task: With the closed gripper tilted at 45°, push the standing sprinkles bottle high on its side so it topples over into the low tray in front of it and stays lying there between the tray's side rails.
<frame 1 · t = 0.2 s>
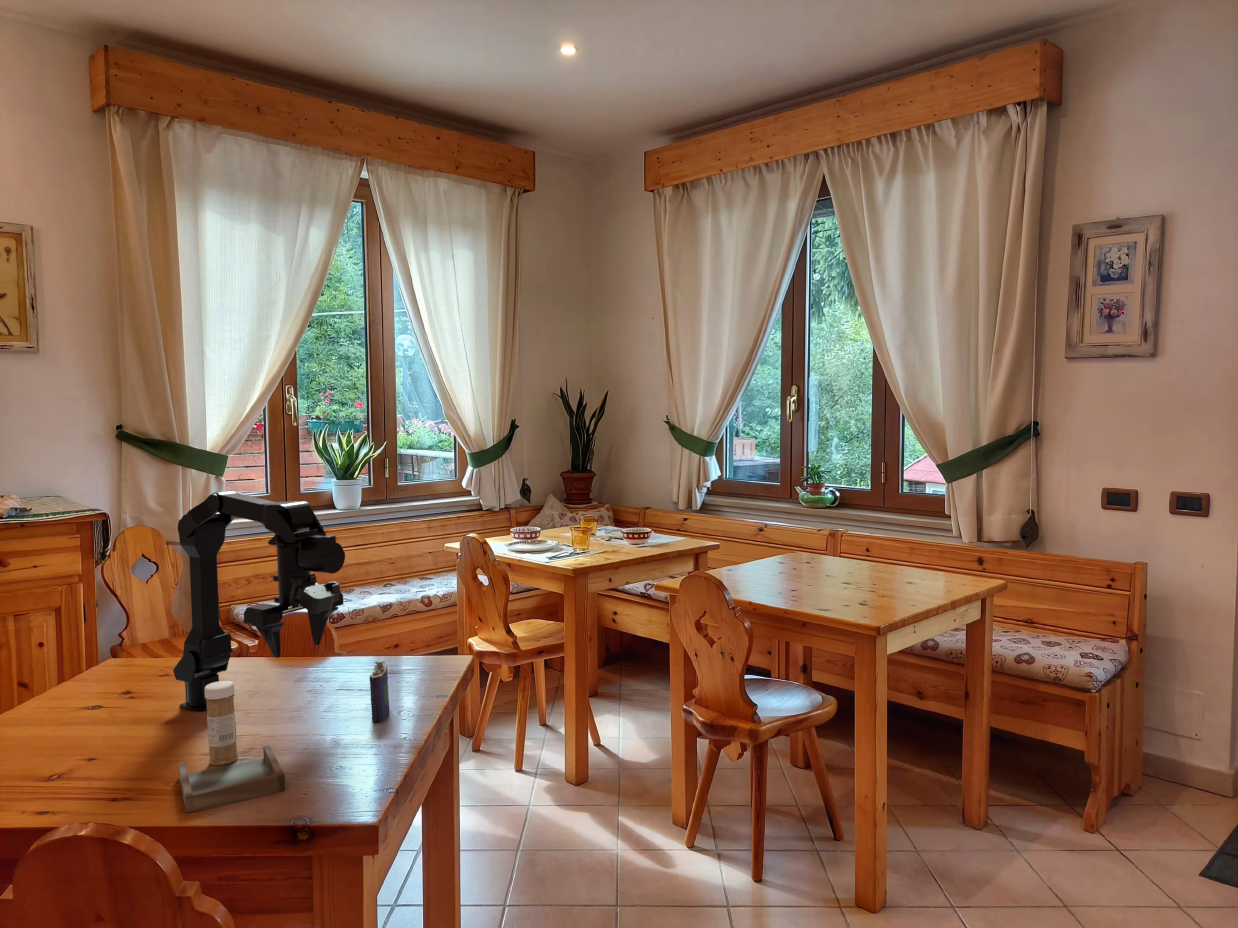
hand: (297, 650, 163), 14 cm above the table, tool pointing down, fingers open, 9 cm apart
flask: (381, 715, 168), on the table
tray: (231, 783, 138), on the table
sprinkles bottle: (223, 762, 148), on the table
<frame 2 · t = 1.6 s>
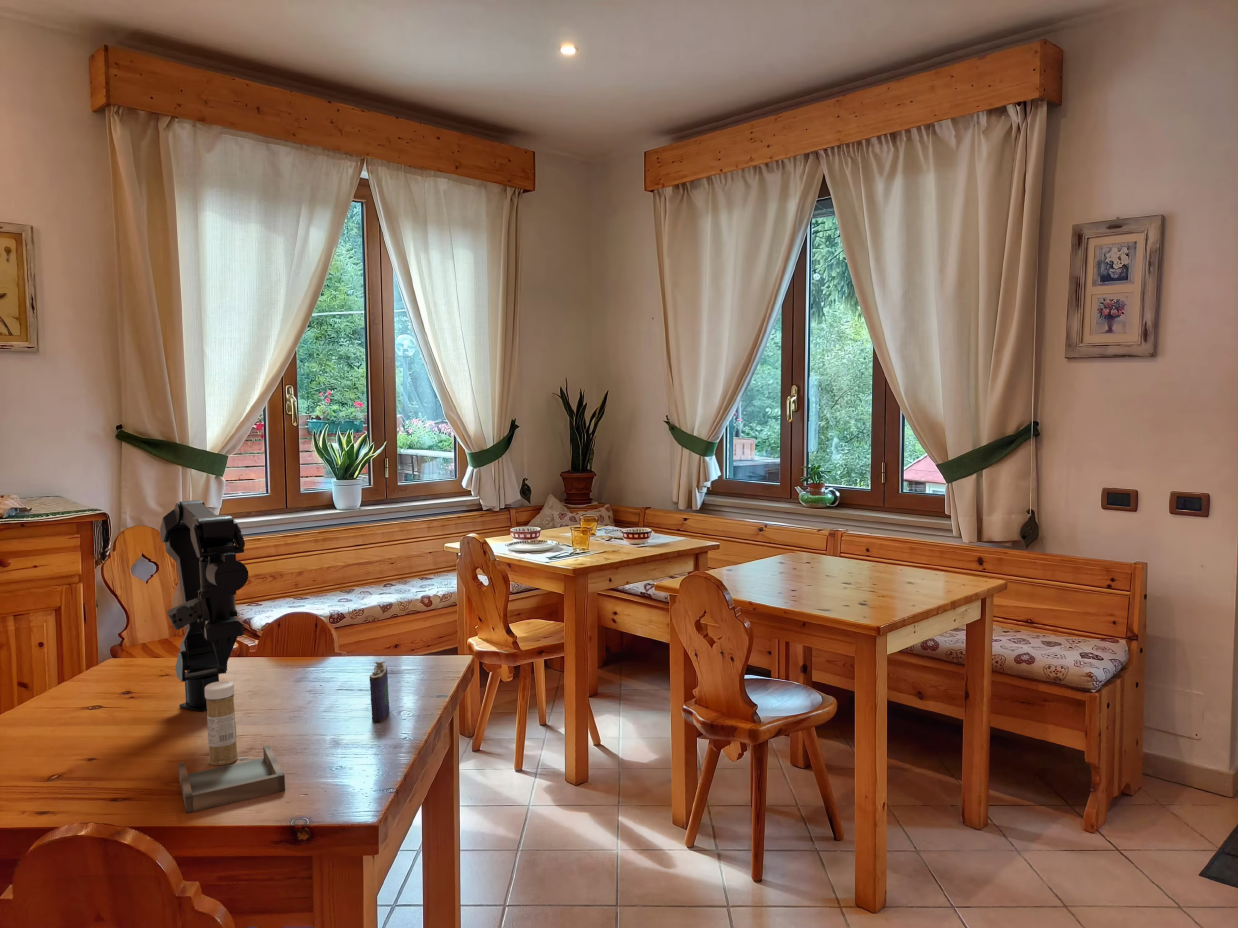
hand: (221, 665, 162), 12 cm above the table, tool pointing down, fingers closed
nothing on the table moved.
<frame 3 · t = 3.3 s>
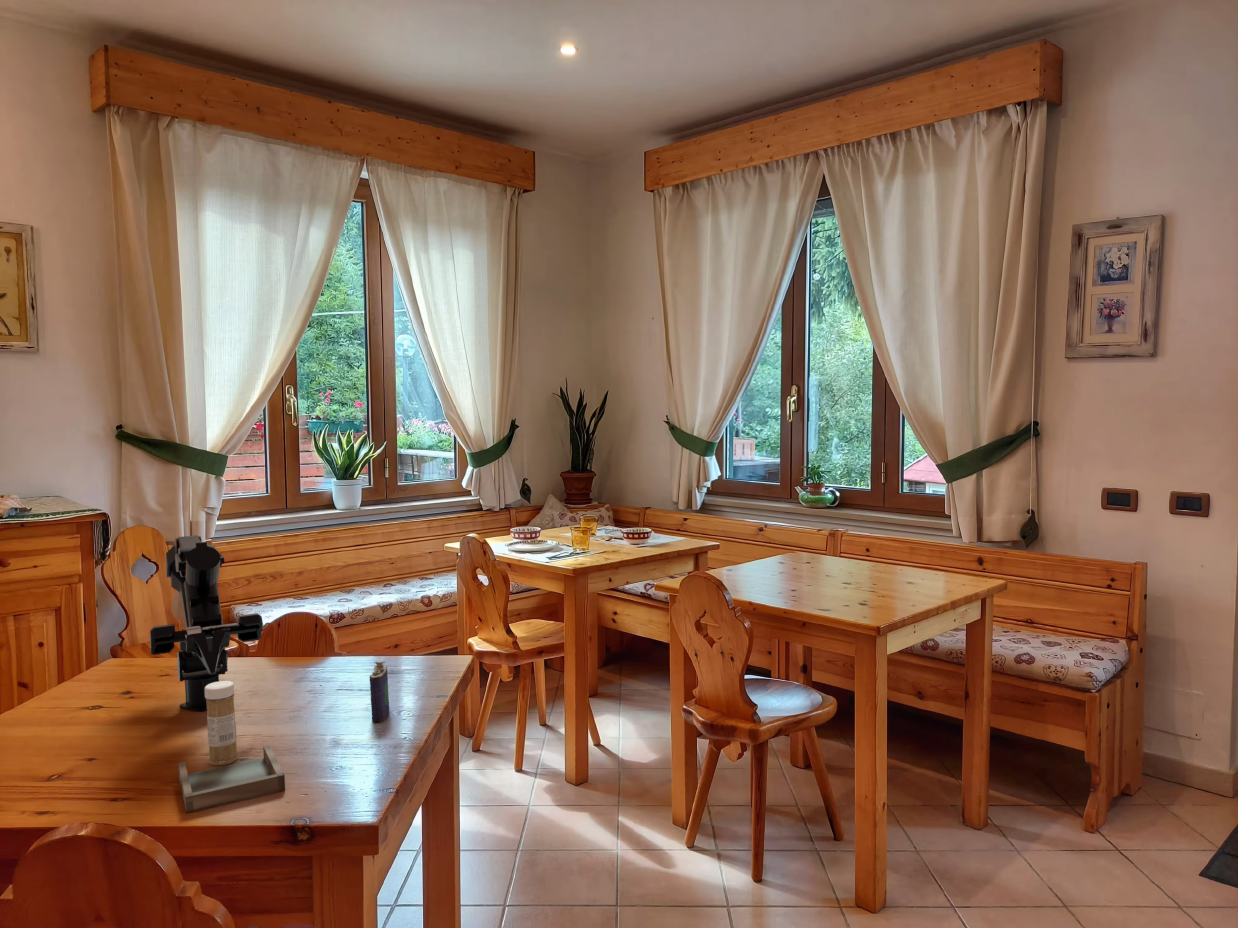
hand: (212, 673, 156), 13 cm above the table, tool tilted 45°, fingers closed
nothing on the table moved.
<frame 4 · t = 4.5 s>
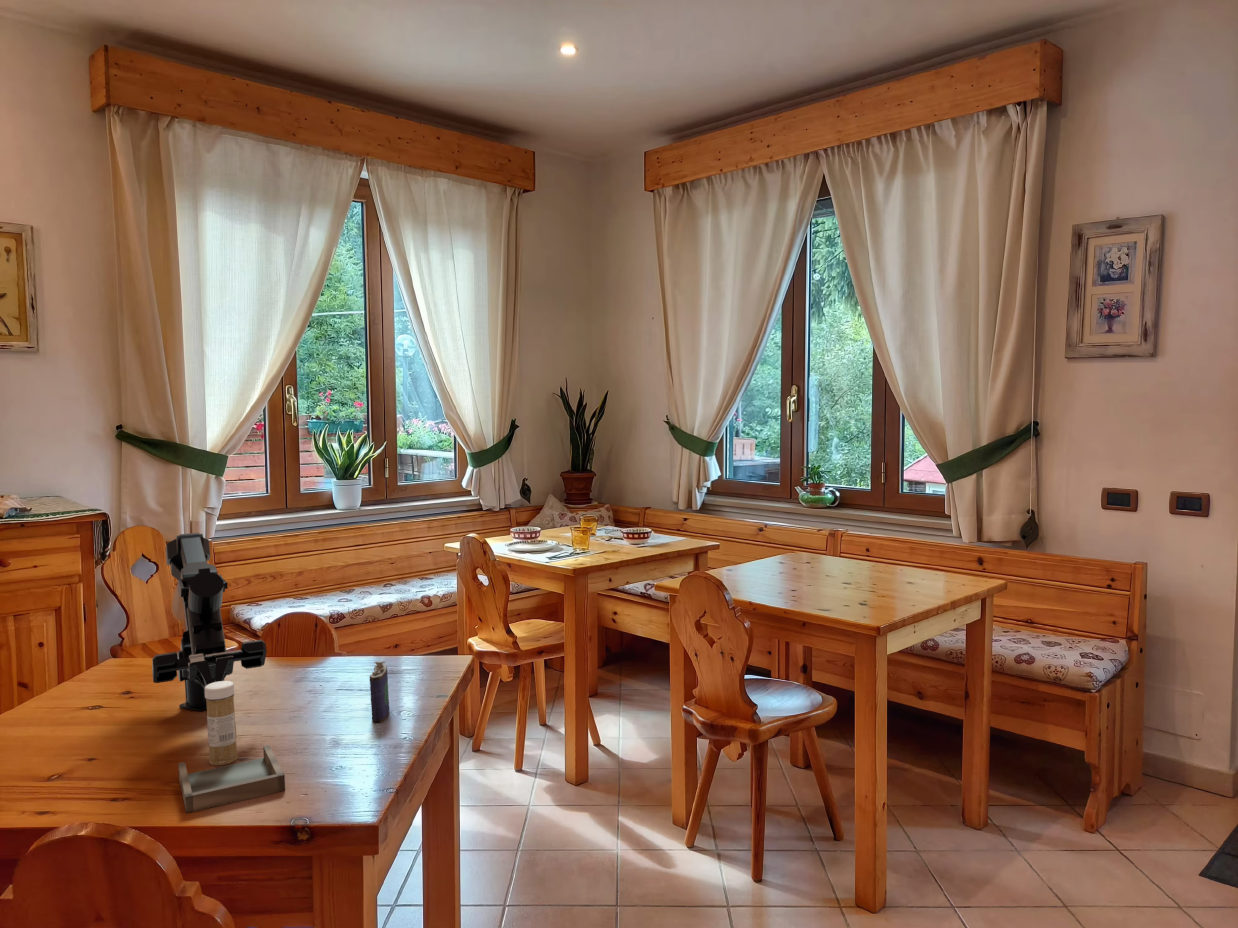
hand: (215, 701, 154), 8 cm above the table, tool tilted 45°, fingers closed
nothing on the table moved.
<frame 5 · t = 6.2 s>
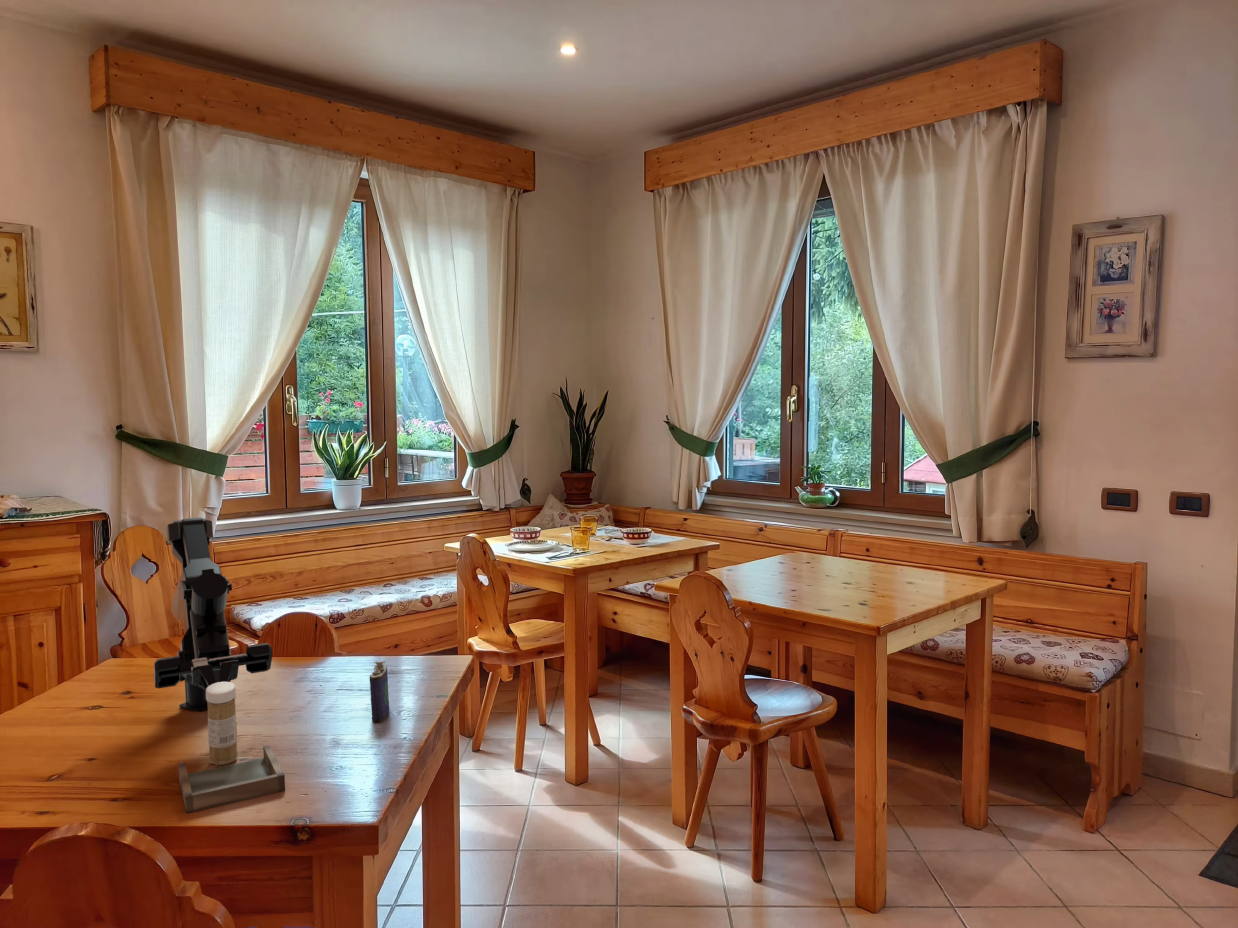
hand: (220, 707, 148), 9 cm above the table, tool tilted 45°, fingers closed
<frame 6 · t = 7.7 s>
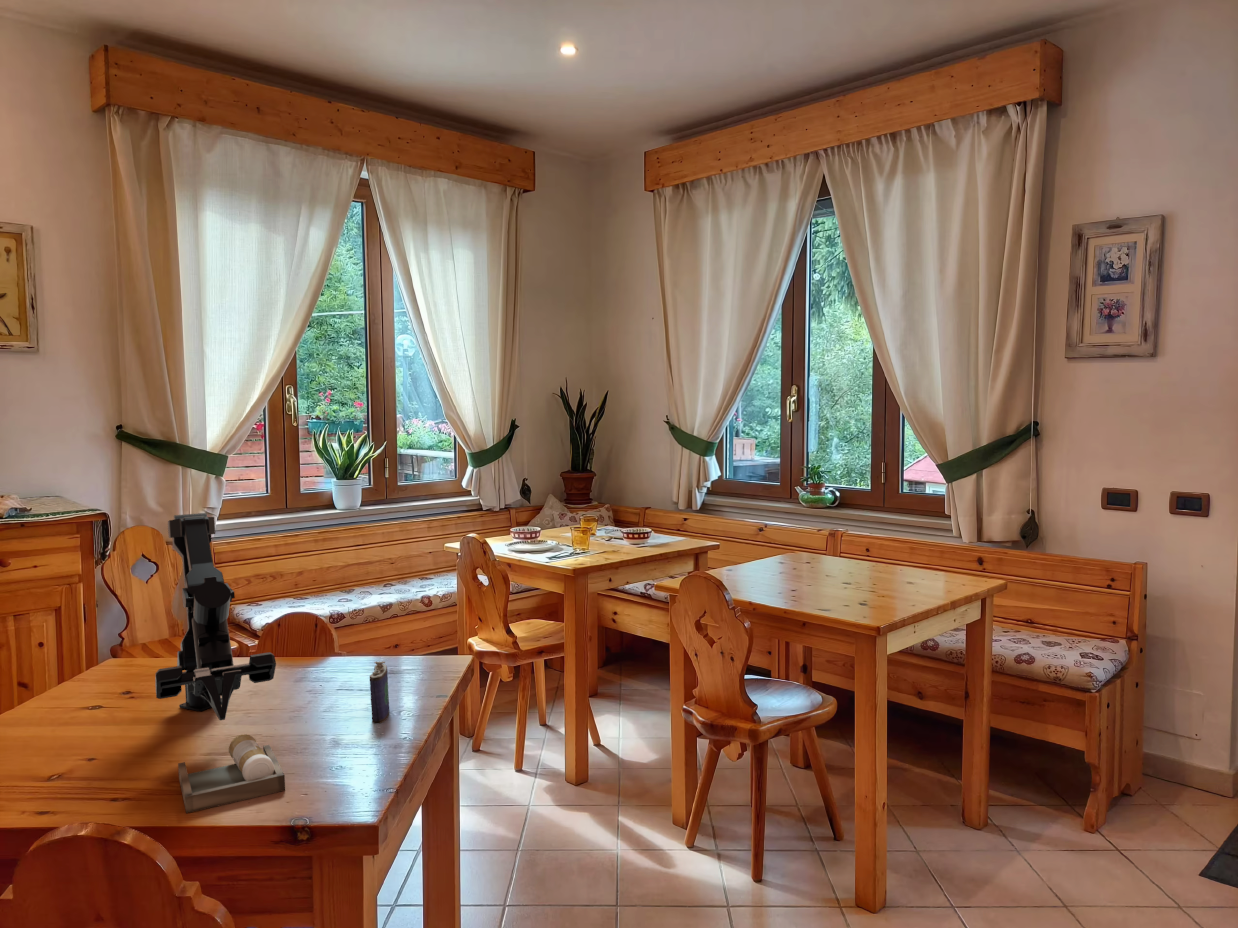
hand: (222, 718, 145), 8 cm above the table, tool tilted 45°, fingers closed
sprinkles bottle: (241, 746, 147), point 3 cm above the table, touching tray
everything else where it was.
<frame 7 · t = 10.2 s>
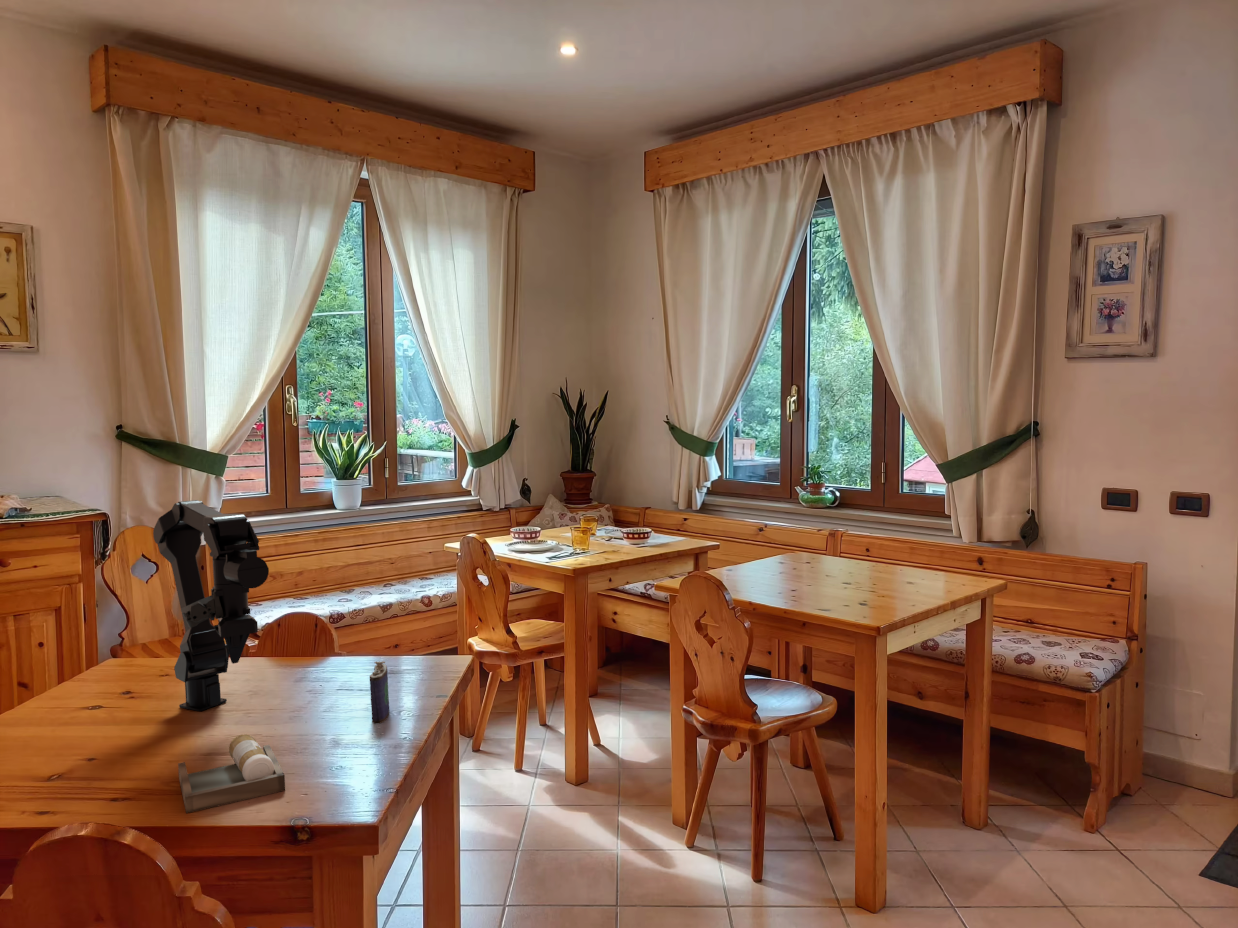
hand: (234, 662, 164), 12 cm above the table, tool pointing down, fingers closed
nothing on the table moved.
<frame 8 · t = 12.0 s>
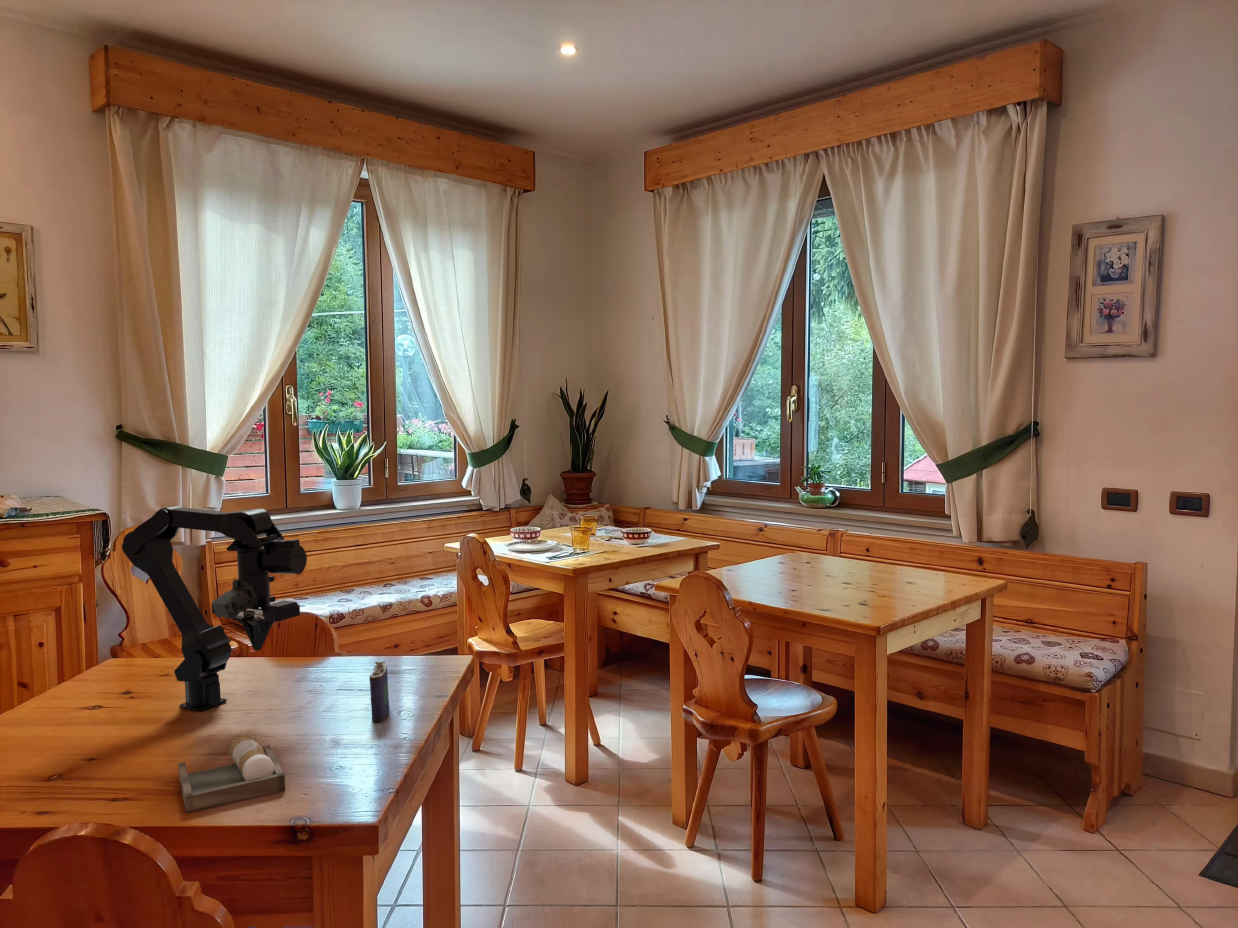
hand: (257, 650, 172), 12 cm above the table, tool pointing down, fingers closed
nothing on the table moved.
at the end: sprinkles bottle tilted 89°; sprinkles bottle touching tray; sprinkles bottle inside the target area (4.2 cm from its centre), point 2.5 cm above the table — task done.
